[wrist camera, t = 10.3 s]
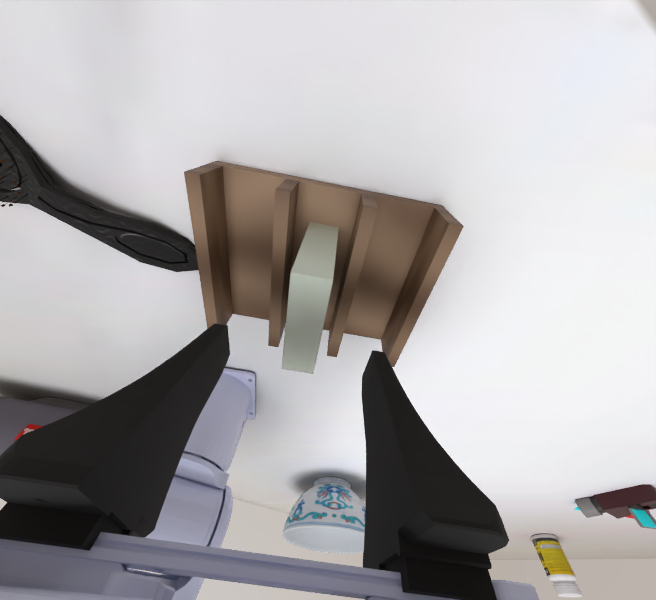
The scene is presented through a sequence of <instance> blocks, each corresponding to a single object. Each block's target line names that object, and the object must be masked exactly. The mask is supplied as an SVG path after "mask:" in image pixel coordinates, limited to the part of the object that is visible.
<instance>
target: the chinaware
mask: <svg viewBox="0 0 656 600" xmlns="http://www.w3.org/2000/svg"><path fill="white" fill-rule="evenodd" d="M365 509H366V506H365V504H364V503H363V502H362V500H361V499H360V498H359V497H358V496H357V495H356V494H355V493H354V492H353V491H352V490H351V485H350V483H349V482H347V481H346V480H343V479H340V478H335V477H323V478H319V479H317V480H315V482H314V486H313V487H312V488H310V489H309V490H307V491H306V492H305V493H304V494H303V495H302V496H301V497H300V498H299V499H298V500H297V502H296V503H295V505H294V506H293V508H292V510H291V512H290V514H289V516H288V518H287V521H286V524H285V527H284V530H283V534H282V536H283V538H284V539H285V540H286V541H287V542H289V543H291V544H293V545H296V546H299V547H302V548H305V549H310V550H314V551H320V552H328V553H362V552H364V534H365Z"/></svg>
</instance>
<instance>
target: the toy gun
mask: <svg viewBox="0 0 656 600" xmlns="http://www.w3.org/2000/svg"><path fill="white" fill-rule="evenodd" d="M575 501H576V504H577V505H578V507H577V508H575V509H574V510H581V511H582V513H583V514H584V515H585V516H586V517H593V516H599V515H602V513H605V512H607V513H609V514H611V515H612V516H614V517H616V518H622V517H628V518H635V520H636V521H637V523H638V524H639V525H640V527H643V528H651V529H656V521H655V519H654V518H653V517H652V515H651V514H650V512H649V511H648V510H650V509H656V489H654V488H653V487H652V486H651V485H638V486H633V487H629V488H624V489H620V490H615V491H611V492H606V493H601V494H596V495H594V497H586V498H581V499H577V500H575Z"/></svg>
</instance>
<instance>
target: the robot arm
mask: <svg viewBox="0 0 656 600" xmlns="http://www.w3.org/2000/svg"><path fill="white" fill-rule="evenodd" d="M229 355H230V350H229V338H228V326H227V325H222V324H216V323H215V324H213V325H212V326H211V327H209V328H208V329H207V330H206V331H204V332H203V333H202V334H201V335H200V336H198V337H197V338H196V339H195V340H193V341H192V342H191V343H190V344H188V345H187V346H186V347H184V348H183V349H182V350H181V351H179V352H178V353H177V354H175V355H174V356H173V357H171V358H170V359H168V360H167V361H165V362H164V363H163V364H161V365H160V366H158V367H157V368H155V369H154V370H152V371H151V372H149V373H148V374H146V375H145V376H143V377H141V378H140V379H138V380H136V381H135V382H133V383H131V384H130V385H128V386H126V387H124V388H123V389H121V390H119V391H117V392H115V393H113V394H112V395H110V396H108V397H106V398H104V399H102V400H100V401H98V402H96V403H94V404H92V405H90V406H88V407H86V408H84V409H82V410H79V411H77V412H75V413H73V414H71V415H69V416H66V417H64V418H62V419H60V420H57V421H55V422H52V423H50V424H48V425H45V426H43V427H40V428H38V429H36V430H33V431H31V432H28V433H26V434H23V435H21V436H20V437H19V438H18V439H17V440H16V441H15V442H14V443H13V444H12V445H11V446H9V447H8V448H7V449H6V450H5V451H4V452H3V453H2V454H1V455H0V498H1V499H3V500H5V501H6V502H7V504H6V505H5V506H4V507H3V508H2V509H1V510H0V600H196V597H197V595H198V593H199V590H200V588H201V585H202V583H203V580H204V578H208V579H215V580H224V581H231V582H238V583H246V584H254V585H262V586H269V587H277V588H285V589H293V590H300V591H307V592H315V593H322V594H330V595H337V596H345V597H353V598H361V599H365V600H539V598H538V595H537V593H536V590H535V588H534V586H532V585H531V584H526V583H519V582H512V581H505V580H491V578H490V575H489V572H488V569H491V562H490V559H489V556H488V554H489V553H491V552H494V551H496V550H498V549H501V548H503V547H505V546H506V545H507V543H508V541H509V539H508V536H507V533H506V531H505V528H504V525H503V522H502V519H501V517H500V515H499V512H498V510H497V508H496V506H495V504H494V503H493V502H492V501H491V500H490V499H489V498H488V497H487V496H486V495H485V494H484V493H483V492H482V491H481V490H480V489H479V488H478V487H477V486H476V485H475V484H474V483H473V482H472V481H471V480H470V479H469V478H468V477H467V476H466V475H465V474H464V472H463V471H462V470H461V469H460V468H459V467H458V466H457V465H456V464H455V462H454V461H453V460H452V459H451V458H450V456H449V455H448V454H447V453H446V451H445V450H444V449H443V448H442V447H441V445H440V444H439V443H438V442H437V440H436V439H435V438H434V436H433V435H432V434H431V432H430V431H429V429H428V428H427V427H426V425H425V424H424V422H423V421H422V419H421V418H420V416H419V415H418V413H417V412H416V410H415V409H414V407H413V405H412V404H411V402H410V400H409V399H408V397H407V395H406V393H405V392H404V390H403V388H402V386H401V384H400V382H399V380H398V379H397V377H396V375H395V373H394V371H393V368H392V366H391V364H390V362H389V360H388V358H387V356H386V354H385V352H379V351H372V353H371V356H370V358H369V361H368V363H367V366H366V368H365V371H364V373H363V376H362V404H363V415H364V426H365V437H366V509H365V534H364V553H363V568H362V567H355V566H347V565H339V564H332V563H325V562H318V561H310V560H303V559H295V558H288V557H281V556H273V555H266V554H259V553H252V552H245V551H237V550H230V549H222V548H220V547H221V544H222V542H223V539H224V537H225V534H226V531H227V528H228V525H229V521H230V517H231V513H232V506H233V497H232V492H231V488H230V487H229V486H227V485H226V483H227V480H228V477H229V474H227V473H225V472H226V471H227V470H228V468H229V466H230V464H231V462H232V459H233V456H234V454H235V451H236V448H237V445H238V442H239V439H240V436H241V433H242V430H243V427H244V424H245V422H246V419H254V418H255V374H254V373H251V372H246V371H240V370H234V369H228V368H225V365H226V363H227V360H228V358H229ZM128 568H131V569H128ZM133 569H139V570H146V571H152V572H157V573H162V574H160V575H159V574H153V573H148V572H143V571H138V570H133Z"/></svg>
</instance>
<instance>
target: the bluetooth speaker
mask: <svg viewBox="0 0 656 600" xmlns="http://www.w3.org/2000/svg"><path fill="white" fill-rule="evenodd" d="M88 406H90V405H89V404H84V403H80V402H75V401H70V400H65V399H59V398H53V397H43V398H39V399H36V400H23V399H16V398H8V397H1V396H0V455H1V454H2V453H3V452H4V451H5V450H6V449H7V448H8V447H9V446H11V445H12V444H13V443H14V442H15V441H16V440H17V439H18V438H19V437H20V436H21V435H23V434H26V433H28V432H31V431H33V430H36V429H38V428H40V427H43V426H45V425H48V424H50V423H52V422H55V421H57V420H60V419H62V418H64V417H66V416H69V415H71V414H73V413H75V412H77V411H79V410H82V409H84V408H86V407H88Z"/></svg>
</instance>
